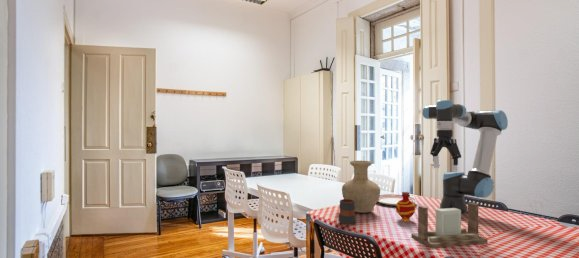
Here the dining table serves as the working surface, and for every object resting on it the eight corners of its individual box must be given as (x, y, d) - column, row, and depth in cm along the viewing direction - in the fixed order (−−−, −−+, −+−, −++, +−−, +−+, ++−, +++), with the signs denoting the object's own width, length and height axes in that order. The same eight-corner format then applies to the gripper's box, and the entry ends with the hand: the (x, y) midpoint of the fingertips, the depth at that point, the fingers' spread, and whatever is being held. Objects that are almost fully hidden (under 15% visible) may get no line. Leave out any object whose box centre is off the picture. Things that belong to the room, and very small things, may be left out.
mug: (357, 219, 177) (357, 198, 177) (353, 225, 166) (353, 203, 166) (342, 218, 180) (342, 197, 180) (337, 224, 169) (337, 201, 169)
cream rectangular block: (454, 233, 148) (454, 207, 148) (461, 237, 144) (461, 210, 144) (435, 235, 146) (435, 209, 146) (441, 238, 142) (442, 211, 142)
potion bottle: (417, 223, 170) (417, 194, 170) (396, 222, 172) (396, 194, 172) (414, 217, 180) (414, 191, 180) (394, 216, 182) (394, 190, 182)
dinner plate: (411, 210, 198) (411, 204, 198) (368, 204, 212) (367, 199, 212) (420, 201, 221) (420, 196, 221) (380, 197, 236) (380, 192, 236)
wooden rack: (463, 232, 155) (463, 200, 155) (487, 242, 142) (487, 207, 141) (411, 236, 149) (411, 203, 149) (431, 247, 135) (431, 210, 135)
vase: (383, 209, 199) (383, 160, 199) (375, 218, 179) (375, 164, 179) (348, 205, 209) (348, 159, 209) (336, 213, 189) (336, 162, 189)
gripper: (423, 129, 181) (423, 167, 181) (456, 129, 157) (456, 173, 157) (434, 129, 183) (435, 166, 183) (469, 129, 159) (469, 172, 159)
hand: (445, 169), depth 170 cm, fingers open, 13 cm apart
